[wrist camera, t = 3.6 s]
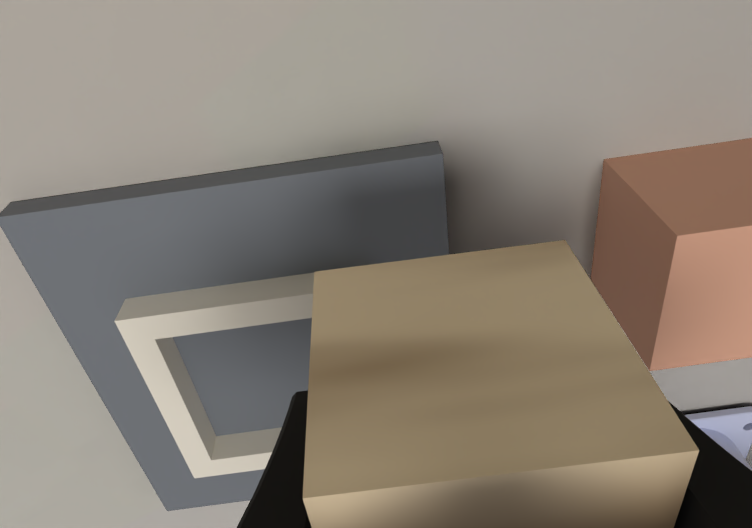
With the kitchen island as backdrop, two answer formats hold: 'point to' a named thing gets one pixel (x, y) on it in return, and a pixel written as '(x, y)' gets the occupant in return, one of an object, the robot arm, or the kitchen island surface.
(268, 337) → the slate baseplate
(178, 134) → the kitchen island surface
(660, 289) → the terracotta block
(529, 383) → the oak block
